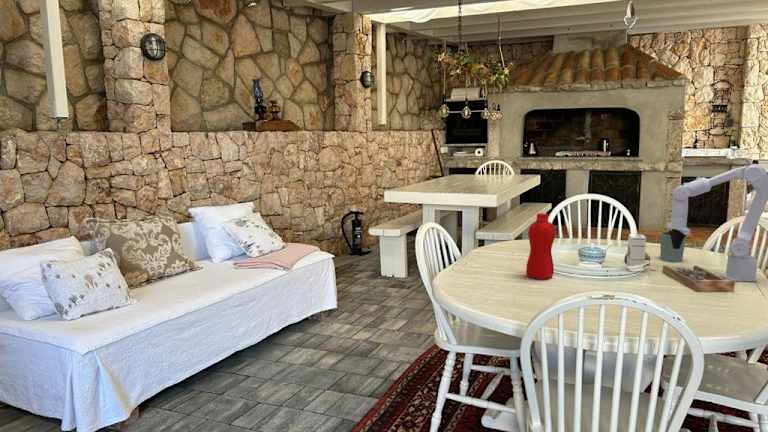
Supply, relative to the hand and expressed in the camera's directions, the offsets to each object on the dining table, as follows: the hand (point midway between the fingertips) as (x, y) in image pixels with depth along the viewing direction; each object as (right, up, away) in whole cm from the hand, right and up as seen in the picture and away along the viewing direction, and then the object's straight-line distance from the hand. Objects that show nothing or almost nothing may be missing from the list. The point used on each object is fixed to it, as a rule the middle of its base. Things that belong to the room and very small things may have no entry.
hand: (676, 248), depth 229 cm
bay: (0, -12, -14) cm, 18 cm away
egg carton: (0, -11, -10) cm, 15 cm away
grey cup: (+7, -6, +18) cm, 21 cm away
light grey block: (-10, -7, +14) cm, 18 cm away
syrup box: (-16, -9, +2) cm, 19 cm away
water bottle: (-57, -11, -8) cm, 59 cm away
